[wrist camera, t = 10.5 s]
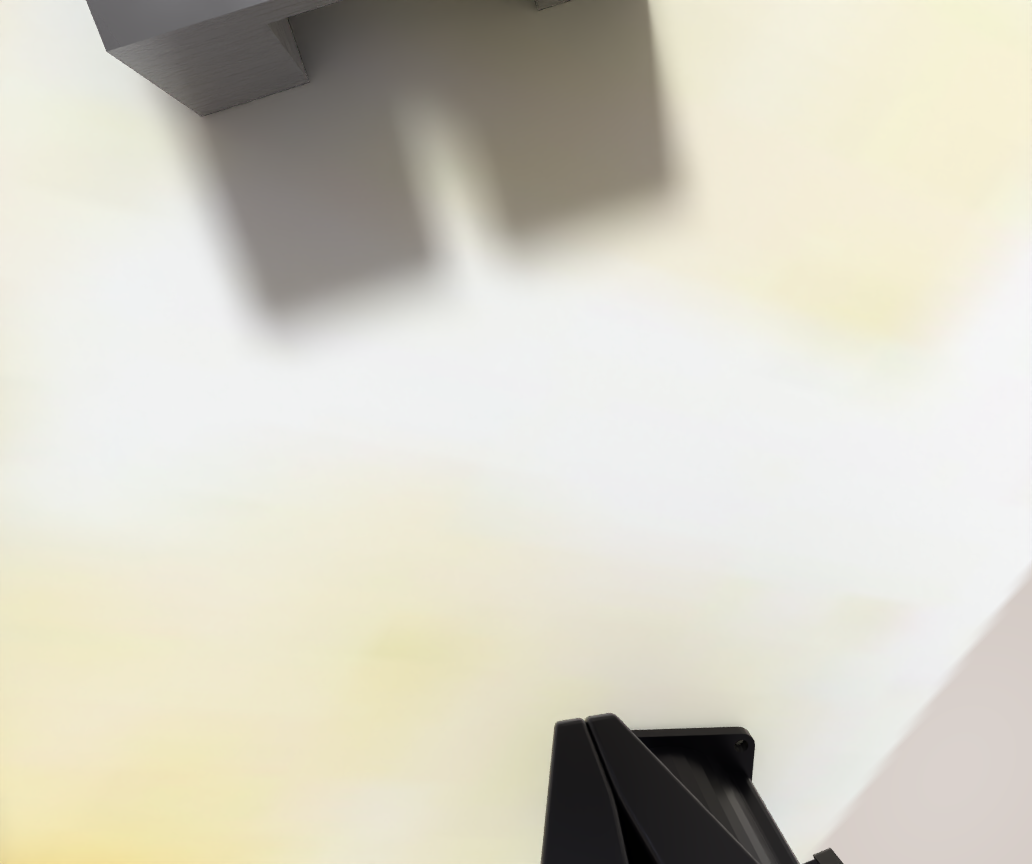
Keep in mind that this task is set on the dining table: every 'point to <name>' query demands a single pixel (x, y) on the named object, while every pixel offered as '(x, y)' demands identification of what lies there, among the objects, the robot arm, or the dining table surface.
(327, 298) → the dining table surface
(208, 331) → the dining table surface
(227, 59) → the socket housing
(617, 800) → the robot arm
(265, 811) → the dining table surface
